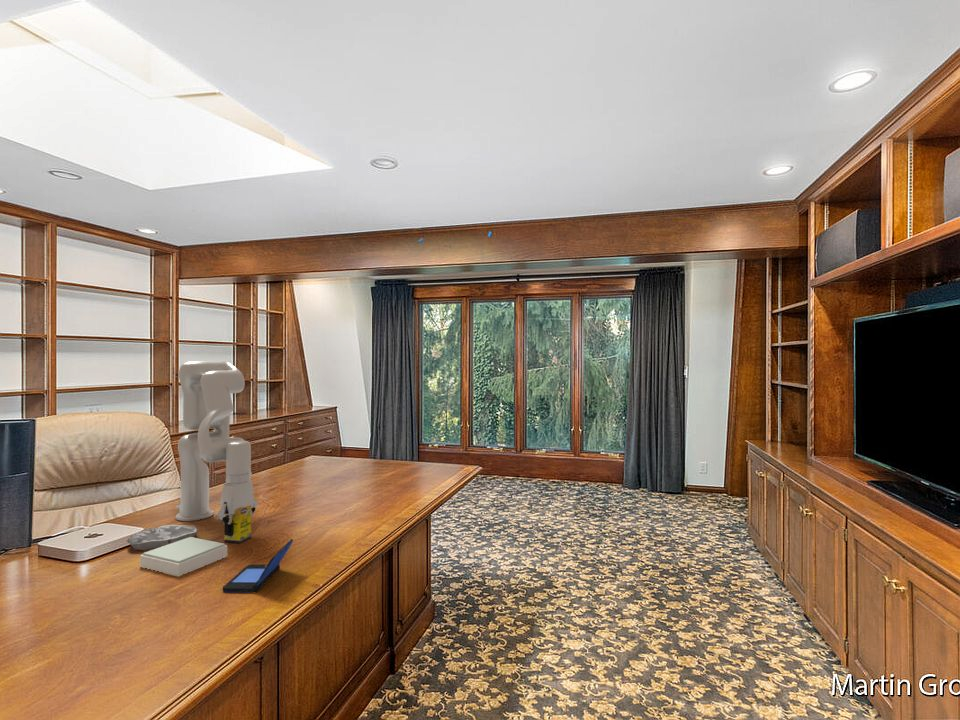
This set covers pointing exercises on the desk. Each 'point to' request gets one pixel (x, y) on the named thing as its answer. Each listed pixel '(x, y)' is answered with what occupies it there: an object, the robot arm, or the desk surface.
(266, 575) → the handheld game console
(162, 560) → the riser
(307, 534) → the desk surface
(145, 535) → the brain slice
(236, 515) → the supplement box
